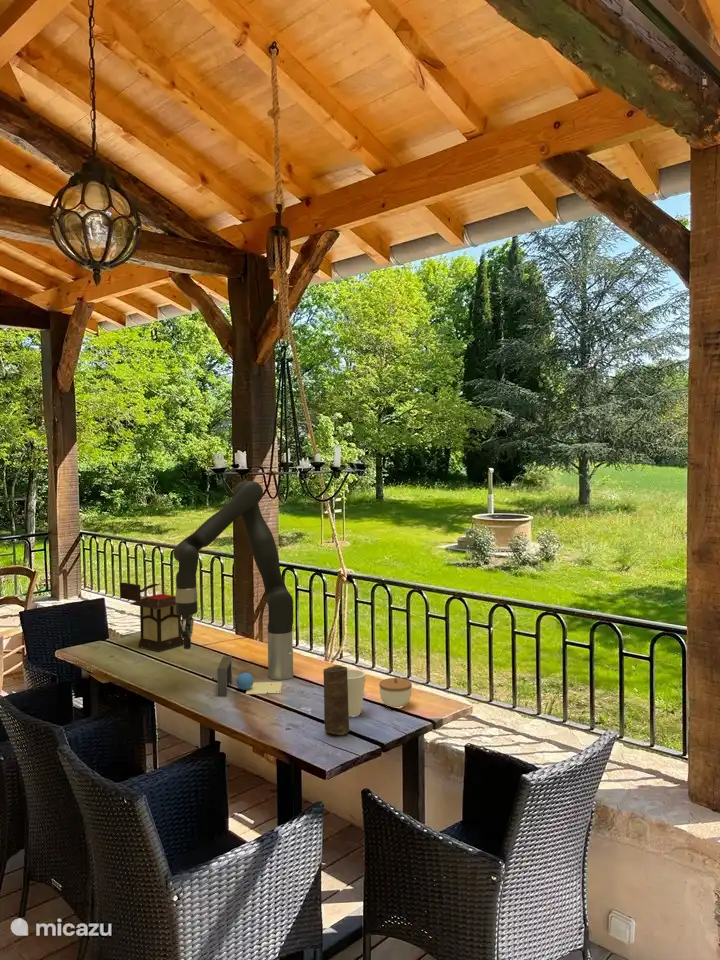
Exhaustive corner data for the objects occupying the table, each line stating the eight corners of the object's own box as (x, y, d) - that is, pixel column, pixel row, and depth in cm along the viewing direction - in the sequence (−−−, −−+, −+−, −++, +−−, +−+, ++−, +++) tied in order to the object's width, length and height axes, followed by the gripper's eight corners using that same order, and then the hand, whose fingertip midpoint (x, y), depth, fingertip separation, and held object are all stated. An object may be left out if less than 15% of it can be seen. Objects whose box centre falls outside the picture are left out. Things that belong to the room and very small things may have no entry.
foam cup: (340, 720, 222) (339, 679, 222) (333, 710, 231) (333, 670, 231) (369, 717, 225) (369, 676, 224) (361, 707, 234) (361, 668, 233)
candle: (329, 739, 208) (328, 671, 207) (320, 730, 214) (319, 665, 214) (353, 734, 211) (352, 668, 210) (343, 726, 218) (343, 661, 217)
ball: (241, 688, 255) (257, 682, 255) (239, 695, 249) (255, 688, 249) (235, 674, 255) (250, 667, 255) (232, 680, 249) (248, 673, 249)
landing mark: (282, 682, 260) (282, 681, 260) (280, 693, 248) (280, 692, 248) (249, 683, 259) (249, 682, 259) (245, 694, 247) (245, 693, 247)
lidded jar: (378, 700, 240) (378, 673, 239) (409, 699, 240) (409, 672, 240) (381, 712, 229) (380, 683, 229) (413, 711, 230) (413, 682, 229)
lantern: (115, 652, 301) (114, 582, 300) (164, 638, 322) (162, 573, 321) (143, 659, 291) (142, 586, 289) (191, 644, 312) (190, 577, 311)
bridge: (231, 682, 260) (231, 656, 260) (226, 696, 245) (225, 668, 245) (223, 682, 260) (223, 656, 260) (217, 696, 245) (217, 668, 245)
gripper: (193, 603, 244) (194, 653, 245) (200, 596, 257) (201, 643, 258) (171, 604, 244) (172, 654, 245) (179, 596, 257) (180, 643, 258)
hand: (187, 648), depth 251 cm, fingers closed
